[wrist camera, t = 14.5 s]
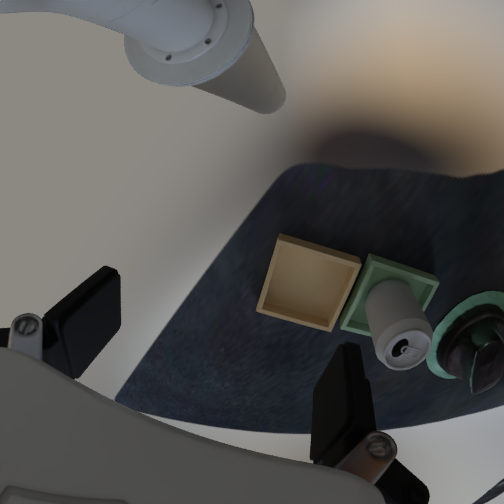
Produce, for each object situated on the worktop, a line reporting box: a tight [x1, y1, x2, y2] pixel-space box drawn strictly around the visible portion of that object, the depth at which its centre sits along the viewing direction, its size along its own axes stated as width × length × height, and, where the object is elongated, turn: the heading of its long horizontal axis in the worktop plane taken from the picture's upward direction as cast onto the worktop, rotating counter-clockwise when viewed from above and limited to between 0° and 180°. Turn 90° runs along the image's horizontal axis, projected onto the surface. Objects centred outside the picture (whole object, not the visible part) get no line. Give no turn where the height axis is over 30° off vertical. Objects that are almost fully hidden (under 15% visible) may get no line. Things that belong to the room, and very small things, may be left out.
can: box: [365, 279, 433, 370], centre depth 34 cm, size 8×8×12 cm
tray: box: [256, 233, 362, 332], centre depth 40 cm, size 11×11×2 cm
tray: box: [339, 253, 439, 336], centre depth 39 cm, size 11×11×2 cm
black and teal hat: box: [426, 291, 504, 395], centre depth 38 cm, size 15×19×20 cm
